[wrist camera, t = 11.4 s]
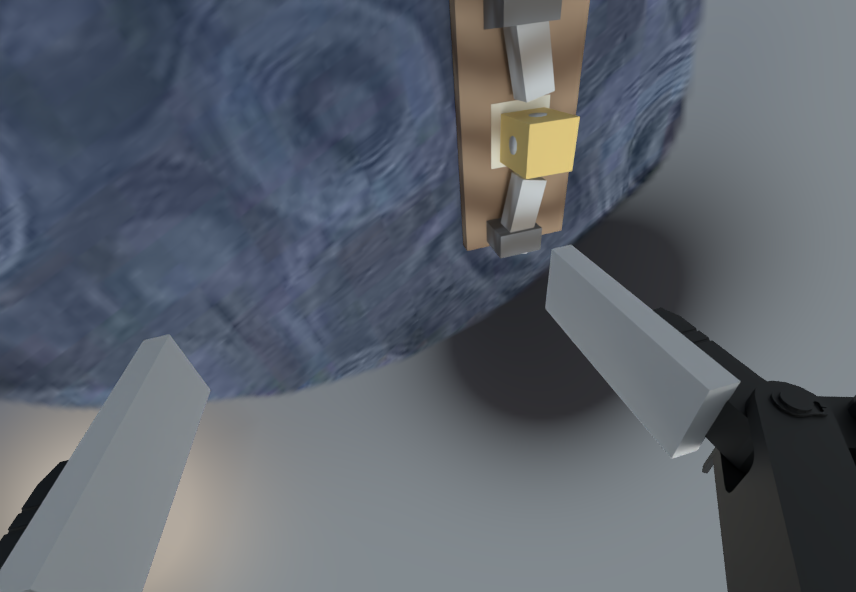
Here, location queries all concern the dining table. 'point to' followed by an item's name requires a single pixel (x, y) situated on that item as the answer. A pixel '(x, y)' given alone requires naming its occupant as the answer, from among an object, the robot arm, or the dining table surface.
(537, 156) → the block
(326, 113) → the dining table surface
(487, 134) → the brown wooden base
